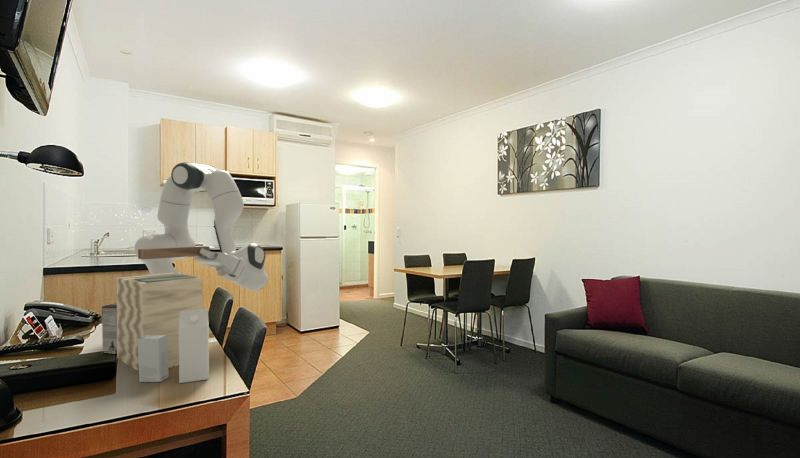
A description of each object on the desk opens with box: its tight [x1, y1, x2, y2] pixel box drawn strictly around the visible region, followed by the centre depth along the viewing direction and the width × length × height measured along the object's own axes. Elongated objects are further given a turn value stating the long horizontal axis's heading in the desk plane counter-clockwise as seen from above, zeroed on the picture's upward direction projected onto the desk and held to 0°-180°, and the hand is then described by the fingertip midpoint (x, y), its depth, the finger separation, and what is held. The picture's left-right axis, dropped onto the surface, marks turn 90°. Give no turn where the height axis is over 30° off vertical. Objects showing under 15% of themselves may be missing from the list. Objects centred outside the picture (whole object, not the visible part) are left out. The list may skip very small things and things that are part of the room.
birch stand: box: [115, 273, 204, 372], centre depth 132 cm, size 22×17×26 cm
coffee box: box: [101, 302, 117, 352], centre depth 142 cm, size 9×6×16 cm
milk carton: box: [178, 308, 210, 384], centre depth 116 cm, size 7×7×19 cm
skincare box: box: [137, 335, 170, 383], centre depth 115 cm, size 6×4×12 cm
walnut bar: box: [137, 245, 211, 260], centre depth 138 cm, size 4×21×3 cm, turn 141°
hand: (196, 249), depth 144 cm, fingers closed on walnut bar, 4 cm apart
